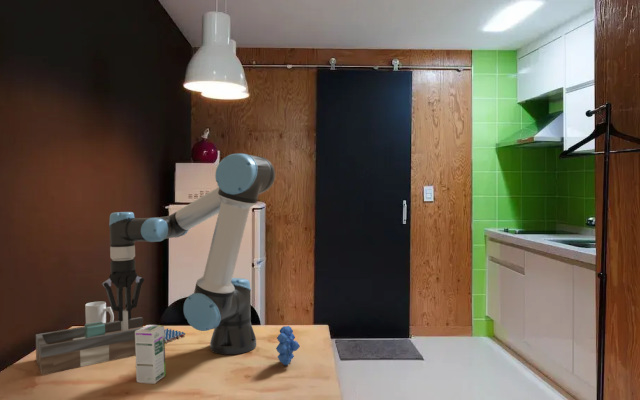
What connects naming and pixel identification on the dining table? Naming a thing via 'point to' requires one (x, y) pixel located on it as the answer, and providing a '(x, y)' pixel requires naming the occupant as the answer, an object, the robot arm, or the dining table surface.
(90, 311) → the mug
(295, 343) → the grapes
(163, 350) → the syrup box
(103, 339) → the track
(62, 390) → the dining table surface
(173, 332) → the woven mat
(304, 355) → the dining table surface
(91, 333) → the block
